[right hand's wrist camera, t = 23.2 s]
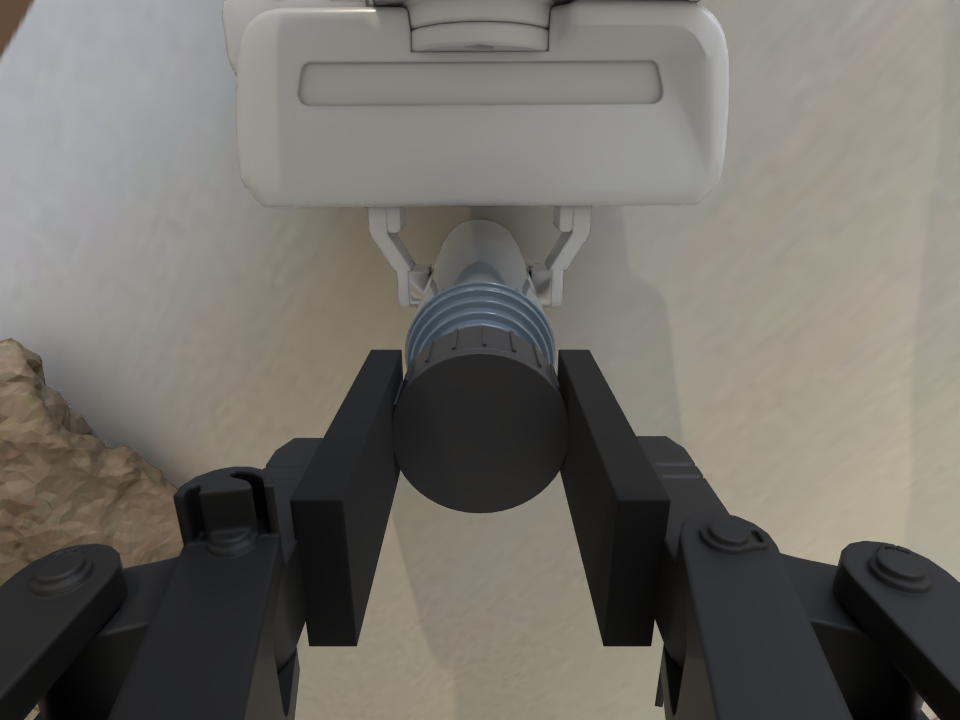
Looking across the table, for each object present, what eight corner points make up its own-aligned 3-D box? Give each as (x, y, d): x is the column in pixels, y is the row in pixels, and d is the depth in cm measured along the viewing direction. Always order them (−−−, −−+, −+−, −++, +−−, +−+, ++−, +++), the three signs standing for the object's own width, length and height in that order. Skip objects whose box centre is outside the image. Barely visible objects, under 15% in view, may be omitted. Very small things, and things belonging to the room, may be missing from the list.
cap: (594, 401, 15) (611, 438, 13) (480, 499, 16) (480, 545, 14) (481, 289, 14) (480, 311, 12) (365, 401, 15) (349, 437, 13)
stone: (-168, 478, 34) (-257, 540, 29) (22, 319, 34) (-30, 351, 29) (128, 646, 43) (103, 717, 38) (278, 520, 43) (275, 573, 38)
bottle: (488, 202, 32) (503, 286, 12) (536, 268, 33) (619, 442, 14) (423, 252, 33) (337, 405, 13) (472, 315, 34) (461, 541, 14)
